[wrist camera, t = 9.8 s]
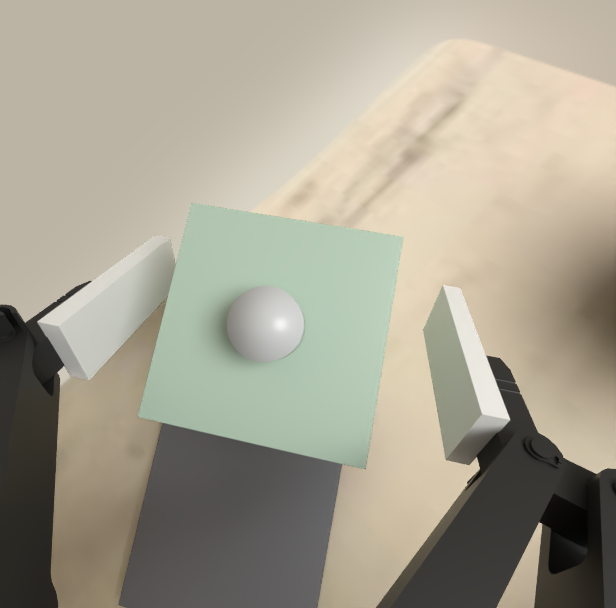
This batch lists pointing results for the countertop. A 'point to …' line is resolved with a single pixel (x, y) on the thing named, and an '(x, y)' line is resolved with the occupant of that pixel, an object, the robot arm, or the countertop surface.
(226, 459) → the mat
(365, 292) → the lid
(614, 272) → the countertop surface
